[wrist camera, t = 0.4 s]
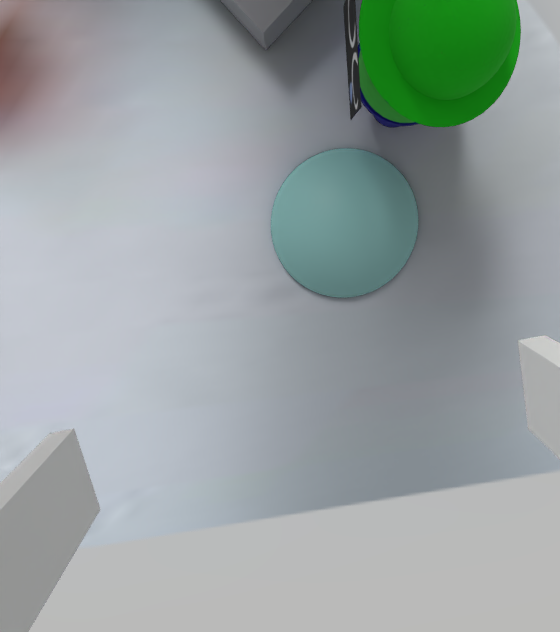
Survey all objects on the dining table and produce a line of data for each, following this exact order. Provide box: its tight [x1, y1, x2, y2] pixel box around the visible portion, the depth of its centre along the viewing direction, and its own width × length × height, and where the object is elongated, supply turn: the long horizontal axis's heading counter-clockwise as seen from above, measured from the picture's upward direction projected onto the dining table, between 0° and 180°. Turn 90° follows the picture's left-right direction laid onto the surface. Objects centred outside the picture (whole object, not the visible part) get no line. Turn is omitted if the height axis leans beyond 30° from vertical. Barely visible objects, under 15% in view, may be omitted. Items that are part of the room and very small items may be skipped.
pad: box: [271, 148, 418, 298], centre depth 40 cm, size 11×11×1 cm
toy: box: [344, 0, 521, 127], centre depth 30 cm, size 9×9×15 cm
